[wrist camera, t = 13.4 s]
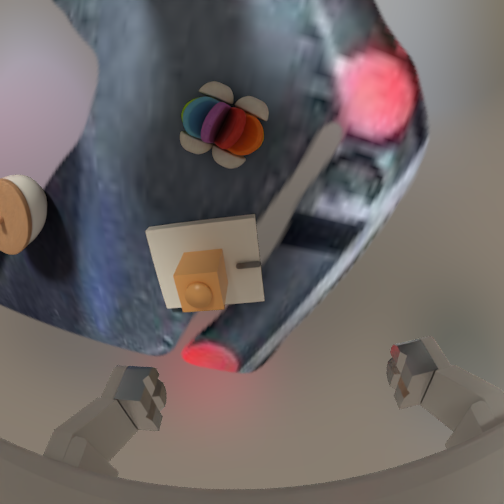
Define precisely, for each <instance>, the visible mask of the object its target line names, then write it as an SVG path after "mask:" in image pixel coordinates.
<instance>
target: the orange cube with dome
mask: <svg viewBox="0 0 504 504" xmlns="http://www.w3.org/2000/svg"><path fill="white" fill-rule="evenodd" d="M173 277H174V281H175V285H176V289H177V292H178V296H179V299H180V303H181V307H182V310H183V312H194V311H209V310H223V309H225V301H226V294H227V287H228V279H227V274H226V268H225V262H224V256H223V250H222V249H213V250H203V251H194V252H184V253H183V255H182V258H181V260H180V262H179V264H178V266H177V268H176V271H175V273H174V275H173Z"/></svg>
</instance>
